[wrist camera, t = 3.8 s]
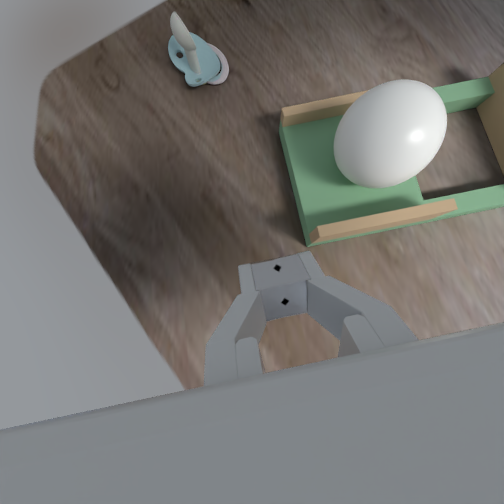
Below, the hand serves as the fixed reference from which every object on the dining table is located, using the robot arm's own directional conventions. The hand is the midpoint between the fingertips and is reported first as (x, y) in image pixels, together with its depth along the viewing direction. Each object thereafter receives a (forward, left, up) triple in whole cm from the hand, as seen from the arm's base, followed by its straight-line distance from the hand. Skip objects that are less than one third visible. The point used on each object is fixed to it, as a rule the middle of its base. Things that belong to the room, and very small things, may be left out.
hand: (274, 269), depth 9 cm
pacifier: (+2, -27, -14) cm, 30 cm away
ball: (-12, -9, -8) cm, 17 cm away
